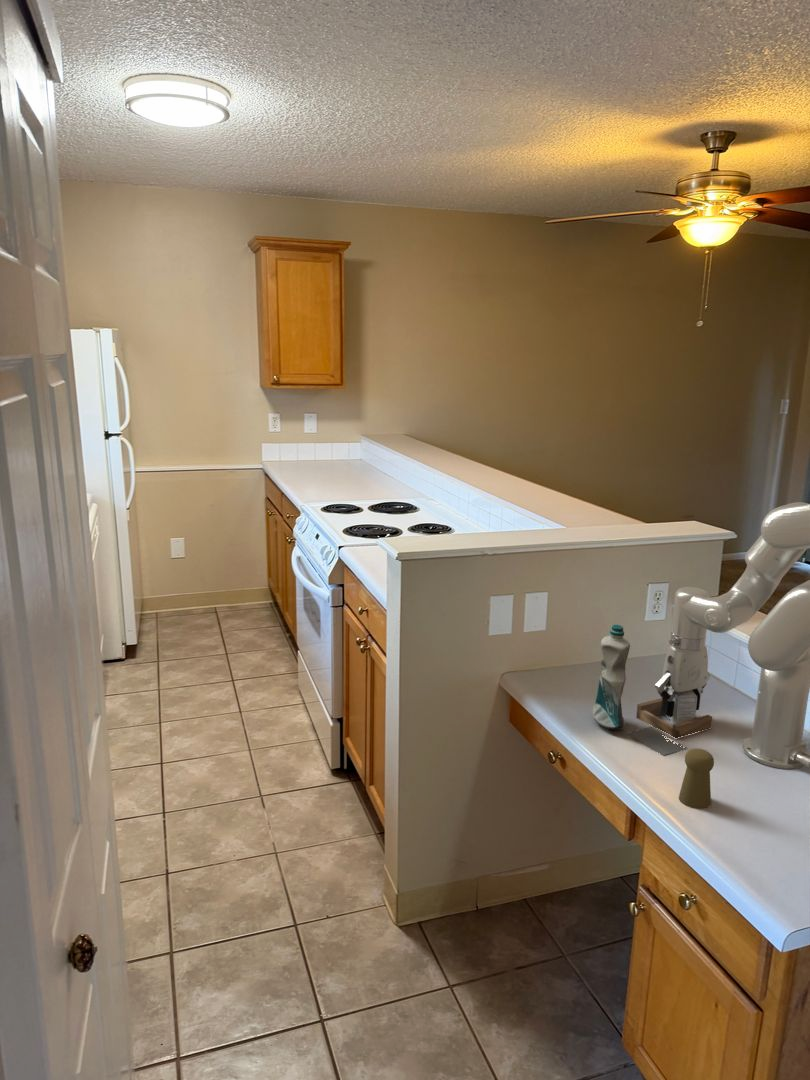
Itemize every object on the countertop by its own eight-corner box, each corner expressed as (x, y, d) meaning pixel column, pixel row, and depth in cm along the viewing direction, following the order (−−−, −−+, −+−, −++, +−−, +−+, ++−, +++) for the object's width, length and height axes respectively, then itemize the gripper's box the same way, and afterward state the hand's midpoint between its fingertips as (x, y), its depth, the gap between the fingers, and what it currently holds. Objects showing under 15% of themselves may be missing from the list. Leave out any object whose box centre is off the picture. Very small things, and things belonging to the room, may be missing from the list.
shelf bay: (710, 730, 174) (712, 716, 173) (675, 740, 169) (677, 726, 169) (670, 708, 185) (671, 695, 184) (636, 717, 180) (637, 704, 179)
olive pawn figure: (694, 815, 142) (700, 763, 139) (671, 798, 147) (676, 747, 144) (718, 808, 144) (724, 756, 141) (694, 792, 149) (700, 741, 147)
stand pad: (687, 750, 165) (687, 748, 165) (663, 757, 162) (663, 755, 162) (650, 728, 175) (650, 726, 175) (627, 735, 172) (627, 732, 172)
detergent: (584, 714, 182) (591, 615, 176) (613, 713, 183) (621, 615, 177) (603, 740, 169) (611, 636, 163) (634, 739, 170) (643, 635, 164)
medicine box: (694, 730, 174) (698, 696, 172) (675, 730, 174) (678, 695, 172) (683, 715, 182) (686, 681, 180) (664, 714, 182) (667, 681, 180)
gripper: (671, 652, 166) (664, 725, 170) (727, 640, 174) (719, 710, 178) (647, 641, 173) (640, 711, 177) (702, 630, 180) (694, 697, 185)
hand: (680, 710), depth 177 cm, fingers open, 7 cm apart
